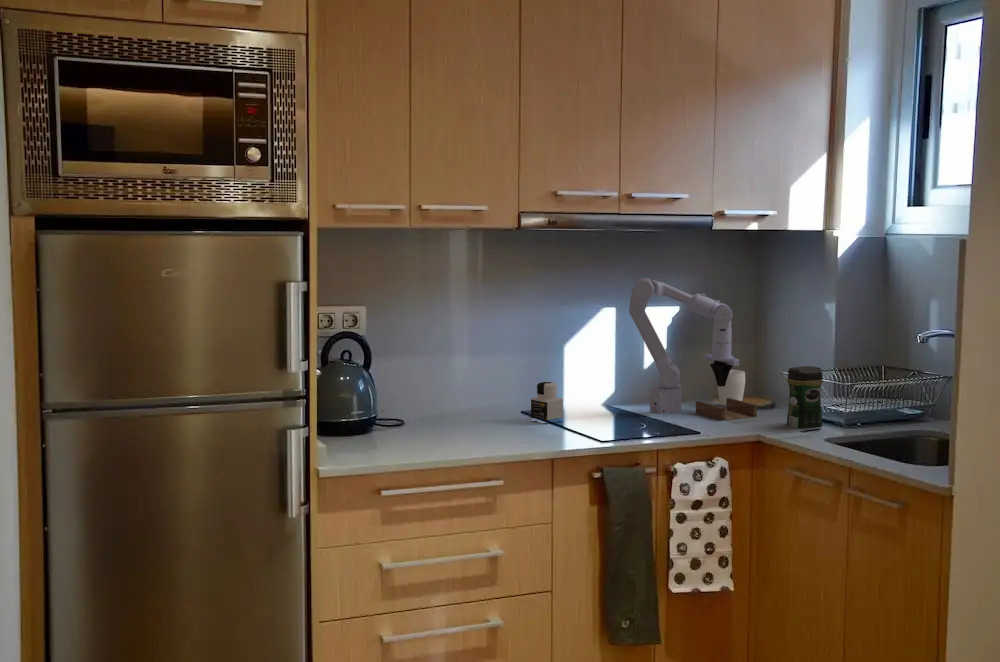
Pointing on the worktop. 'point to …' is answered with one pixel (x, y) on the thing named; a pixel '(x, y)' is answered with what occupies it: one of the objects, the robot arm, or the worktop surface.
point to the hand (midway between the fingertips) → (721, 386)
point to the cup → (732, 387)
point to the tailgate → (745, 420)
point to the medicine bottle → (546, 402)
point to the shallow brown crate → (727, 410)
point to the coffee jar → (805, 398)
